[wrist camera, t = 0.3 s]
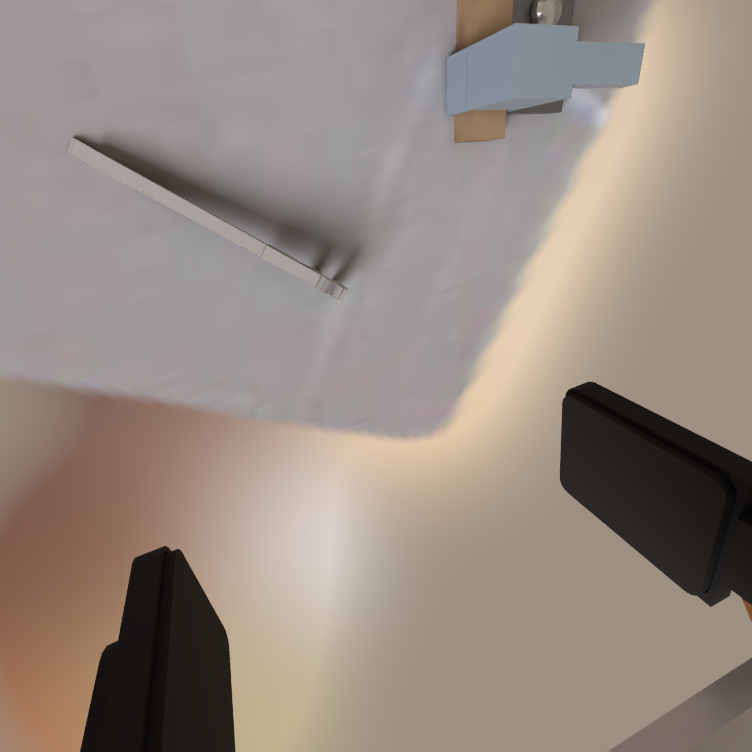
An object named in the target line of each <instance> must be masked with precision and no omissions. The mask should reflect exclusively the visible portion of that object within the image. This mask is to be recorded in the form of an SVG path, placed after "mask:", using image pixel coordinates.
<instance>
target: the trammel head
mask: <svg viewBox="0 0 752 752" xmlns="http://www.w3.org/2000/svg"><path fill="white" fill-rule="evenodd" d="M578 33H579V26H566V25H545V24H524V23H515V24H513V25H511V26H509V27H507V28H505V29H503V30H501V31H499V32H497V33H495V34H493V35H491V36H489V37H487V38H485V39H483V40H481V41H479V42H477V43H475V44H473V45H471V46H469V47H467V48H465V49H463V50H461V51H459V52H457V53H455V54H453V55H451V56H449V57H447V108H446V116H453V115H457V114H461V113H465V112H468V111H472V110H506V112H510V111H514V110H519V109H523V108H528V107H532V106H537V105H541V104H546V103H550V102H555V101H559V100H564V99H568V98H571V92H572V88H622V87H627V86H631V85H636V84H638V81H639V76H640V70H641V64H642V58H643V53H644V47H645V43H617V42H587V41H578Z"/></svg>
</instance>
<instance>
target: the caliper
mask: <svg viewBox="0 0 752 752" xmlns="http://www.w3.org/2000/svg"><path fill="white" fill-rule="evenodd" d="M67 152H69V153H70V154H72V155H74V156H76V157H77V158H79V159H81V160H83V161H85V163H87V164H89V165H91V166H93V167H95V168H97V169H98V170H100V171H102V172H104V173H106V174H108V175H110V176H111V177H113V178H115V179H117V180H119V181H121V182H123V183H124V184H126V185H128V186H130V187H132V188H134V189H136V190H137V191H139V192H141V193H143V194H145V195H147V196H149V197H150V198H152V199H154V200H156V201H158V202H160V203H162V204H163V205H165V206H167V207H169V208H171V209H173V210H175V211H176V212H178V213H180V214H182V215H184V216H186V217H188V218H189V219H191V220H193V221H195V222H197V223H199V224H201V225H202V226H204V227H206V228H208V229H210V230H212V231H214V232H215V233H217V234H219V235H221V236H223V237H225V238H226V239H228V240H230V241H232V242H234V243H236V244H238V245H239V246H241V247H243V248H245V249H247V250H249V251H251V252H252V253H254V254H256V255H258V256H260V257H261V258H263V259H265V260H266V261H268V262H270V263H272V264H274V265H276V266H277V267H279V268H281V269H283V270H285V271H287V272H289V273H290V274H292V275H294V276H296V277H298V278H300V279H302V280H303V281H305V282H307V283H309V284H311V285H313V286H315V287H317V288H319V289H321V291H322V292H324V293H327V294H329V295H331V296H332V297H333V298H335V299H336V300H337V299H339V300H341V301H343V299H344V297H345V295H346V294H347V292H348V289H347V288H346V287H345V286H343V285H342V284H341V283H339V282H338V281H336V280H335V279H333V278H332V280H331V279H329V278H327V277H326V276H324V275H322V274H321V272H320V271H318V270H316V269H314V268H312V267H309V266H306V265H304V264H303V263H301V262H299V261H297V260H296V259H294V258H292V257H290V256H289V255H287V254H285V253H283V252H281V251H279V250H278V249H276V248H274V247H272V246H271V245H268V244H266V243H264V242H262V241H260V240H259V239H257V238H255V237H253V236H251V235H250V234H248V233H246V232H244V231H242V230H241V229H239V228H237V227H235V226H233V225H231V224H230V223H228V222H226V221H224V220H222V219H221V218H219V217H217V216H215V215H213V214H212V213H210V212H208V211H206V210H204V209H202V208H201V207H199V206H197V205H195V204H193V203H192V202H190V201H188V200H186V199H184V198H183V197H181V196H179V195H177V194H175V193H173V192H172V191H170V190H168V189H166V188H164V187H163V186H161V185H159V184H157V183H155V182H154V181H152V180H150V179H148V178H146V177H145V176H143V175H141V174H139V173H137V172H135V171H134V170H132V169H130V168H128V167H126V166H125V165H123V164H121V163H119V162H117V161H115V160H114V159H112V158H110V157H108V156H106V155H104V154H103V153H101V152H99V151H97V150H95V149H93V148H91V147H89V146H88V145H86V144H84V143H82V142H80V141H79V140H77V139H75V138H73V137H72V140H71V143H70V145H69V148H68V151H67Z"/></svg>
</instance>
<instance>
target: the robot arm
mask: <svg viewBox="0 0 752 752" xmlns="http://www.w3.org/2000/svg"><path fill="white" fill-rule="evenodd" d="M562 405H563V406H562V430H561V460H560V481H561V484H562V486H563V488H564V489H565V490H566V491H567V492H568V493H569V494H570V495H571V496H572V497H574V498H575V499H576V500H577V501H578V502H580V503H581V504H582V505H583V506H584V507H585V508H587V509H588V510H589V511H590V512H592V513H593V514H594V515H595V516H596V517H597V518H599V519H600V520H601V521H602V522H603V523H605V524H606V525H607V526H608V527H609V528H610V529H612V530H613V531H614V532H615V533H616V534H618V535H619V536H620V537H621V538H622V539H624V540H625V541H626V542H627V543H628V544H630V545H631V546H632V547H633V548H634V549H635V550H637V551H638V552H639V553H640V554H641V555H643V556H644V557H645V558H646V559H647V560H649V561H650V562H651V563H652V564H653V565H654V566H656V567H657V568H658V569H659V570H660V571H662V572H663V573H664V574H665V575H666V576H668V577H669V578H670V579H671V580H672V581H674V582H675V583H676V584H677V585H678V586H680V587H681V588H682V589H683V590H684V591H686V592H687V593H689V594H691V595H697V596H698V597H699V598H701V599H702V600H703V601H704V602H705V603H707V604H708V605H709V606H710V607H712V606H713V605H715V604H717V603H718V602H720V601H722V600H723V599H725V598H727V597H728V596H730V593H731V590H732V591H734V592H735V593H736V594H738V595H739V596H740V597H742V600H743V602H744V605H745V607H746V610H747V612H748V615H749V617H750V620H751V622H752V462H751V461H749V460H747V459H745V458H743V457H741V456H739V455H737V454H735V453H733V452H731V451H729V450H728V449H726V448H724V447H721V446H720V445H718V444H716V443H714V442H712V441H710V440H708V439H706V438H704V437H702V436H700V435H697V434H696V433H694V432H692V431H690V430H688V429H686V428H684V427H682V426H680V425H678V424H676V423H674V422H672V421H670V420H668V419H666V418H664V417H662V416H660V415H658V414H656V413H654V412H652V411H650V410H648V409H646V408H644V407H642V406H640V405H638V404H636V403H634V402H632V401H630V400H628V399H626V398H624V397H622V396H620V395H618V394H616V393H614V392H612V391H610V390H608V389H606V388H604V387H602V386H600V385H598V384H596V383H594V382H587V383H584V384H581V385H579V386H576V387H574V388H571V389H569V390H568V391H567V393H566V397H565V398H564V399H563V403H562ZM80 752H235V738H234V721H233V705H232V688H231V671H230V655H229V643H228V638H227V634H226V631H225V629H224V626H223V625H222V623H221V621H220V619H219V618H218V616H217V614H216V612H215V610H214V609H213V607H212V605H211V603H210V602H209V600H208V598H207V596H206V594H205V593H204V591H203V589H202V587H201V585H200V584H199V582H198V580H197V578H196V576H195V575H194V573H193V571H192V569H191V568H190V566H189V564H188V562H187V561H186V559H185V557H184V555H183V553H182V552H181V550H179V549H176V550H174V551H171V550H170V549H169V548H168V547H167V546H164V547H161V548H159V549H156V550H153V551H151V552H148V553H146V554H143V555H141V556H138V557H136V558H135V559H134V560H133V563H132V568H131V574H130V580H129V584H128V590H127V595H126V601H125V606H124V612H123V617H122V623H121V628H120V634H119V639H118V641H116V642H114V643H112V644H110V645H108V646H107V647H106V648H105V650H104V651H103V653H102V656H101V659H100V662H99V666H98V672H97V675H96V680H95V685H94V689H93V694H92V699H91V704H90V708H89V713H88V717H87V723H86V727H85V732H84V736H83V741H82V746H81V750H80ZM608 752H752V658H751V659H749V660H748V661H746V662H745V663H743V664H742V665H740V666H738V667H737V668H735V669H734V670H732V671H731V672H729V673H728V674H726V675H725V676H723V677H721V678H720V679H718V680H717V681H715V682H714V683H712V684H711V685H709V686H708V687H706V688H704V689H703V690H701V691H700V692H698V693H697V694H695V695H694V696H692V697H691V698H689V699H687V700H686V701H684V702H683V703H681V704H680V705H678V706H677V707H675V708H674V709H672V710H670V711H669V712H667V713H666V714H664V715H663V716H661V717H660V718H658V719H657V720H655V721H654V722H652V723H651V724H649V725H648V726H646V727H644V728H643V729H641V730H640V731H638V732H637V733H635V734H634V735H632V736H631V737H629V738H628V739H626V740H625V741H623V742H621V743H620V744H619V745H617V746H615V747H614V748H612V749H611V750H609V751H608Z"/></svg>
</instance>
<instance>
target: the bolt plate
mask: <svg viewBox="0 0 752 752" xmlns="http://www.w3.org/2000/svg"><path fill="white" fill-rule="evenodd" d="M573 5H574V0H513V14H512V25H513V24H515V23H524V24H545V25H566V26H571V23H572V14H573ZM562 103H563V100H559V101H555V102H550V103H546V104H541V105H537V106H532V107H528V108H523V109H519V110H514V111H510V112H506V115H507V114H544V113H559V112H562Z"/></svg>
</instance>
